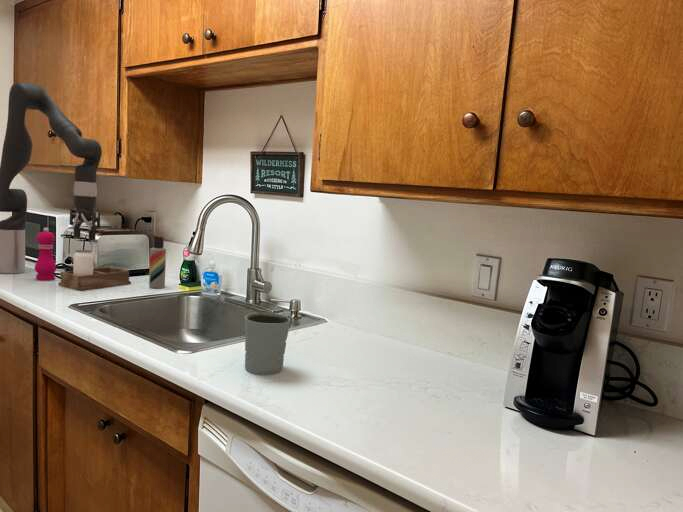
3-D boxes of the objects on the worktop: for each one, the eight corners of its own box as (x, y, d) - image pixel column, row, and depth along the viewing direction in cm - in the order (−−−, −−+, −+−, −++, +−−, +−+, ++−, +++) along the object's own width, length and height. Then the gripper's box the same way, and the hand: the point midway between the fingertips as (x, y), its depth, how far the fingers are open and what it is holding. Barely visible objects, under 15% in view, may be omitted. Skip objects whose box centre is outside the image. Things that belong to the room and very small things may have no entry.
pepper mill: (30, 279, 194) (30, 226, 192) (46, 276, 201) (46, 226, 199) (45, 281, 192) (45, 228, 190) (60, 279, 199) (61, 227, 197)
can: (74, 285, 184) (75, 252, 183) (71, 282, 190) (72, 249, 188) (94, 284, 188) (95, 252, 187) (91, 281, 193) (91, 249, 192)
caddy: (58, 285, 187) (58, 271, 187) (108, 279, 206) (109, 266, 205) (81, 291, 181) (81, 276, 181) (130, 284, 200) (131, 271, 199)
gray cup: (233, 366, 118) (236, 315, 116) (267, 358, 125) (270, 310, 124) (261, 379, 111) (264, 325, 109) (295, 370, 118) (299, 319, 117)
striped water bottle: (146, 286, 198) (148, 234, 195) (161, 285, 202) (162, 235, 199) (152, 289, 194) (154, 236, 191) (167, 288, 197) (168, 236, 195)
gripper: (63, 192, 186) (62, 237, 188) (88, 195, 179) (87, 241, 181) (82, 193, 192) (81, 236, 194) (107, 196, 186) (106, 240, 188)
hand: (84, 238), depth 188 cm, fingers open, 8 cm apart
